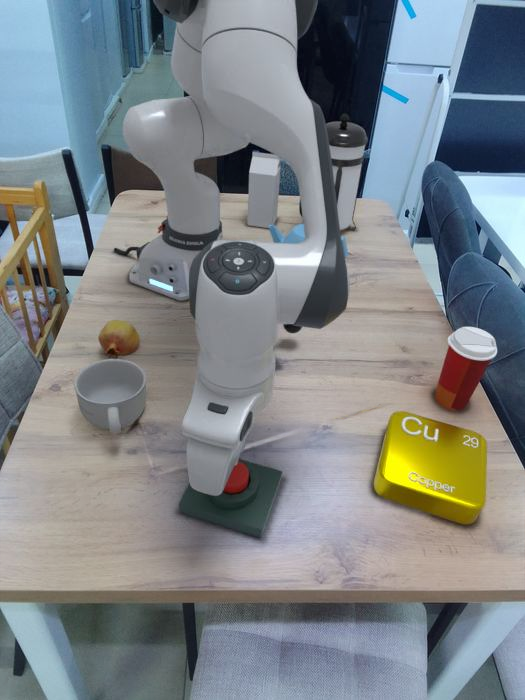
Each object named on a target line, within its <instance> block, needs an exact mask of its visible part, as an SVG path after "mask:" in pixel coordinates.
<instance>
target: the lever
mask: <svg viewBox="0 0 525 700" xmlns="http://www.w3.org/2000/svg"><path fill="white" fill-rule="evenodd" d="M282 327H283V330H284V331H285V332H287V333H288V334H297V333H299V332H300V331H301V330H303V329H302V328H303V327H301V326H293V324H282Z"/></svg>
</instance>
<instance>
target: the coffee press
mask: <svg viewBox="0 0 525 700" xmlns="http://www.w3.org/2000/svg"><path fill="white" fill-rule="evenodd" d="M339 120H340V121H338V120H337V121H330V122H327V123H326V128H327V133H328V140H329V146H330V153H331V160H332V168H333V176H334V184H335V193H336V201H337V209H338V218H339V226H340V231H343V230H345V229H348V228H349V229H350V230H351V231H355V230H356V228H357V227H356V226H357V225H356V223H355V221H354V217H355V216H354V215H355V211H356V204H357V198H358V193H359V188H360V181H361V176H362V171H363V165H364V160H365V159H364V158H365V148H366V145H367V144H368V141H369V140H368V139H369V138H368V136H367V133H366V130H365V129H364V128H363V126H360V125H358V124H356V123H353V122H349V121H350V116H349V114H347V113H342V114H341V115H340V117H339ZM298 206H299V207H298V210H299V215H300V217H301V218H302V219H303V216H302V208H301V200H300V199H299V205H298ZM352 223H353V225H354V227H352V226H351V224H352Z"/></svg>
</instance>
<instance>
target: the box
mask: <svg viewBox="0 0 525 700" xmlns="http://www.w3.org/2000/svg"><path fill="white" fill-rule="evenodd" d="M239 462H241V463H243V464H244V465H245V466H246V467H247V469H248V471H249V479H248V485H247V487H246V488H245V489H244V490H243V491H242V492H240V493H236V494H229V493H226V492H224V491H223V492H222V494H221V495H218V496H214V495H209V494H205V493H202V492H199V491H197V490H195V489H193V488H192V487H191V485H190V483H189V482H188V485H187V487H186V488H185V490H184V493H183V495H182V497H181V499H180V501H179V503H178V507H179V513H181V514H185V515H188V516H190V517H194V518H196V519H200V520H203V521H206V522H210V523H212V524H215V525H218V526H222V527H225V528H228V529H232V530H235V531H237V532H240V533H244V534H247V535H250V536H253V537H256V538H259V539H262V537H263V535H264V532H265V529H266V526H267V524H268V520H269V517H270V515H271V511H272V508H273V505H274V503H275V500H276V497H277V494H278V492H279V489H280V486H281V482H282V479H283V470H280V469H277V468H272V467H269V466H266V465H262V464H258V463H255V462H251V461H249V460H245V459H241V458H240V459H239Z"/></svg>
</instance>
